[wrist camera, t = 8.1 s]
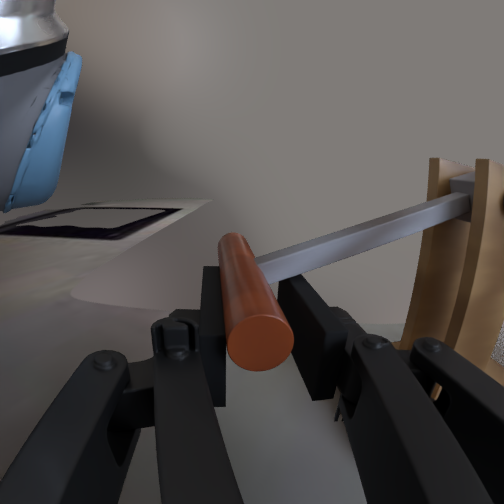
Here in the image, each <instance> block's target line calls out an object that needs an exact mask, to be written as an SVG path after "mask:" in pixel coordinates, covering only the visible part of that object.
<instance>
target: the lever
mask: <svg viewBox="0 0 504 504" xmlns="http://www.w3.org/2000/svg"><path fill="white" fill-rule="evenodd" d="M449 182H450V189H451V194H449V195H446V196H443V197H440V198H437V199H434V200H431V201H428V202H425V203H422V204H419V205H416V206H413V207H410V208H407V209H404V210H401V211H398V212H395V213H392V214H389V215H386V216H382V217H380V218H376V219H373V220H370V221H367V222H364V223H361V224H358V225H355V226H352V227H349V228H346V229H343V230H340V231H337V232H334V233H331V234H327V235H325V236H321V237H318V238H315V239H312V240H309V241H306V242H303V243H300V244H297V245H294V246H291V247H287V248H284V249H281V250H278V251H275V252H272V253H269V254H266V255H263V256H260V257H256V258H255V256H254V254H253V253H252V251H251V249H250V247H249V245H248V243H247V241H246V239H245V238H244V237H243V236H242V235H241V234H238V233H228V234H226V235H224V236H223V237H222V238H221V239H220V241H219V243H218V258H219V268H220V280H221V291H222V302H223V313H224V323H225V333H226V346H227V351H228V354H229V356H230V358H231V359H232V361H233V362H234V363H235V364H237V365H238V366H239V367H241V368H243V369H246V370H249V371H266V370H270V369H272V368H275V367H276V366H278V365H280V364H281V363H282V362H284V361H285V360H286V359H287V357H288V356H289V354H290V353H291V351H292V348H293V344H294V335H293V332H292V329H291V327H290V325H289V323H288V321H287V319H286V317H285V315H284V313H283V311H282V310H281V308H280V306H279V304H278V302H277V300H276V298H275V296H274V294H273V292H272V290H271V288H270V286H269V284H272V283H275V282H278V281H281V280H284V279H287V278H290V277H293V276H296V275H299V274H302V273H305V272H308V271H310V270H313V269H316V268H319V267H322V266H325V265H328V264H331V263H333V262H337V261H339V260H342V259H345V258H348V257H351V256H354V255H356V254H359V253H362V252H365V251H368V250H370V249H373V248H376V247H378V246H381V245H384V244H387V243H390V242H392V241H395V240H398V239H400V238H403V237H405V236H408V235H411V234H414V233H416V232H419V231H421V230H424V229H427V228H429V227H432V226H435V225H437V224H440V223H442V222H445V221H447V220H450V219H452V218H455V219H458V220H462V221H466V222H469V223H471V216H472V207H473V197H474V184H475V171H474V172H471V173H467V174H464V175H460V176H457V177H454V178H450V179H449Z"/></svg>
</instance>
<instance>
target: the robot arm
mask: <svg viewBox="0 0 504 504" xmlns="http://www.w3.org/2000/svg"><path fill="white" fill-rule="evenodd" d="M55 2H56V0H0V211H3V213H7V212H9V211H10V210H11V209H15V208H22V207H28V206H34V205H39V204H42V203H44V202H46V201H47V200H48V199H49V198H50V197H51V196H52V194H53V193H54V191H55V189H56V186H57V183H58V179H59V174H60V168H61V163H62V157H63V152H64V147H65V142H66V135H67V131H68V126H69V120H70V115H71V111H72V103H73V100H74V95H75V91H76V88H77V84H78V80H79V76H80V71H81V66H82V58H81V56H80V55H78V54H75V53H74V52H68V53H67V54H65V49H66V43H67V39H68V34H69V29H68V28H67V26H66V25H65V24H64V23H63V21H62V20H61V19H60V17H59V16H58V15H57V14H56V12H55ZM277 302H278V304H279V306H280V308H281V310H282V311H283V313H284V315H285V317H286V319H287V321H288V323H289V325H290V327H291V329H292V332H293V335H294V344H293V348H292V351H291V353H292V356H293V358H294V360H295V362H296V365H297V367H298V369H299V371H300V374H301V376H302V378H303V380H304V383H305V385H306V387H307V389H308V392H309V394H310V396H311V398H312V401H317V400H325V399H332V398H334V394H335V390H336V386H338V388H339V390H340V391H341V396H340V399H339V403H338V406H337V410H336V413H335V417H334V422H335V421H338V418H339V415H340V414H342V421H344V424H345V427H346V431H347V434H348V437H349V441H350V444H351V448H352V451H353V454H354V458H355V461H356V465H357V468H358V472H359V475H360V479H361V482H362V486H363V490H364V493H365V497H366V501H367V504H504V386H502V385H501V384H500V383H498V382H497V381H496V380H494V379H493V378H492V377H490V376H489V375H488V374H486V373H485V372H484V371H482V370H481V369H479V368H478V367H477V366H475V365H474V364H473V363H471V362H470V361H468V360H467V359H466V358H464V357H463V356H462V355H460V354H459V353H457V352H456V351H455V350H453V349H452V348H450V347H449V346H448V345H446V344H445V343H443V342H441V341H440V340H437V339H435V338H433V337H430V338H429V337H422V338H418V339H416V340H415V341H414V343H413V346H412V350H398V349H395V347H394V346H393V345H392V343H391V342H390V341H389V340H388V339H386V338H384V337H382V336H378V335H373V334H367V333H366V332H365V331H364V330H363V329H362V328H361V327H360V326H359V324H358V323H356V321H355V320H354V319H352V317H351V316H350V315H349V314H348V313H347V312H346V311H345V310H343V309H341V308H339V307H329V306H328V305H327V304H326V303H325V302H324V300H323V299H322V298H321V297H320V296H319V295H318V293H317V292H316V291H315V290H314V289H313V288H312V286H311V285H310V284H309V283H308V282H307V281H306V279H305V278H304V277H303V276H302V275H301V274H299V275H296V276H293V277H290V278H287V279H284V280H281V281H279V286H278V299H277ZM151 335H152V345H153V353H154V357H152V358H150V359H148V360H145V361H140V362H133V363H128V362H127V359H126V357H125V356H124V355H123V354H121V353H120V352H116V351H112V350H101V351H97V352H94V353H92V354H90V355H88V356H87V357H86V358H85V359H84V360H83V361H82V362H81V364H80V365H79V366H78V368H77V369H76V370H75V372H74V373H73V374H72V376H71V377H70V379H69V380H68V381H67V383H66V384H65V385H64V387H63V388H62V389H61V391H60V392H59V394H58V395H57V396H56V398H55V399H54V401H53V402H52V403H51V405H50V406H49V408H48V409H47V411H46V412H45V413H44V415H43V416H42V418H41V419H40V421H39V422H38V424H37V425H36V427H35V428H34V430H33V431H32V433H31V434H30V436H29V437H28V439H27V440H26V442H25V443H24V445H23V446H22V448H21V449H20V451H19V452H18V454H17V456H16V457H15V459H14V460H13V462H12V464H11V465H10V467H9V468H8V470H7V472H6V473H5V475H4V477H3V478H2V480H1V482H0V504H118V501H119V497H120V494H121V491H122V488H123V484H124V481H125V478H126V475H127V472H128V469H129V466H130V463H131V459H132V456H133V453H134V450H135V447H136V444H137V441H138V438H139V435H140V433H141V428H145V427H151V426H155V435H156V450H157V463H158V474H159V484H160V493H161V502H162V504H244V502H243V499H242V497H241V494H240V491H239V488H238V485H237V482H236V479H235V476H234V473H233V470H232V467H231V463H230V460H229V457H228V454H227V451H226V447H225V444H224V441H223V437H222V434H221V430H220V427H219V423H218V420H217V416H216V413H215V409H214V407H226V333H225V323H224V313H223V302H222V291H221V280H220V268H219V266H204V268H203V279H202V293H201V307H200V310H188V309H176V310H175V311H173V312H172V313H171V314H170V315H169V317H167V318H163V319H160V320H157V321H156V322H155V323H153V324H152V326H151ZM436 383H438V384H439V385H440V386H441V387H442V389H441V392H440V394H439V396H438V398H437V400H435V399H433V398H432V397H431V395H432V393H433V391H434V388H435V386H436Z"/></svg>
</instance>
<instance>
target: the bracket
mask: <svg viewBox="0 0 504 504" xmlns="http://www.w3.org/2000/svg"><path fill="white" fill-rule="evenodd" d="M474 171H475V184H474V197H473V207H472V216H471V223H469V222H466V221H462V220H458V219H455V218H452V219H450V220H447V221H445V222H442V223H440V224H437V225H435V226H432V227H429V228H427V229H424V230H423V236H422V243H421V250H420V256H419V262H418V267H417V273H416V278H415V283H414V288H413V293H412V298H411V302H410V306H409V311H408V315H407V319H406V323H405V327H404V331H403V335H402V338H401V341H398V342H391V343H392V345H393V346H394V347H395V349H398V350H412V346H413V343H414V341H415V340H416V339H418V338H422V337H429V338H430V337H433V338H435V339H437V340H440V341H441V342H443V343H445V344H446V345H448V346H449V347H450V348H452V349H453V350H455V351H456V352H457V353H459V354H460V355H462V356H463V357H464V358H466V359H467V360H468V361H470V362H471V363H473V364H474V365H475V366H477V367H478V368H479V369H481V370H482V371H484V372H485V373H486V374H488V375H489V376H490V377H492V378H493V379H494V380H496V381H497V382H498V383H500V384H501V385H502V386H504V367H502V366H501V365H500V364H499V363H497V362H496V361H495V360H493V359H492V358H491V354H492V352H493V349H494V347H495V344H496V341H497V338H498V336H499V333H500V330H501V327H502V324H503V321H504V165H503V164H500V163H498V162H495V161H492V160H490V159H476V166H475V168H474V167H471V166H467V165H464V164H460V163H456V162H453V161H449V160H445V159H442V158H430V160H429V177H428V191H427V202H428V201H431V200H434V199H437V198H440V197H443V196H446V195H449V194H451V189H450V182H449V179H450V178H454V177H457V176H460V175H464V174H467V173H471V172H474ZM337 387H338V386H337ZM441 389H442V387H441V386H440V385H439V384H438V383H436V386H435V388H434V391H433V393H432V395H431V397H432V398H433V399H435V400H437V398H438V396H439V394H440V392H441ZM340 392H341V391H340Z"/></svg>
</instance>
